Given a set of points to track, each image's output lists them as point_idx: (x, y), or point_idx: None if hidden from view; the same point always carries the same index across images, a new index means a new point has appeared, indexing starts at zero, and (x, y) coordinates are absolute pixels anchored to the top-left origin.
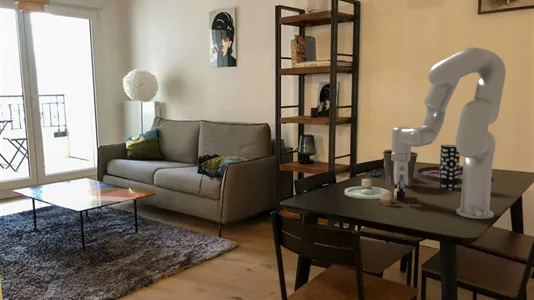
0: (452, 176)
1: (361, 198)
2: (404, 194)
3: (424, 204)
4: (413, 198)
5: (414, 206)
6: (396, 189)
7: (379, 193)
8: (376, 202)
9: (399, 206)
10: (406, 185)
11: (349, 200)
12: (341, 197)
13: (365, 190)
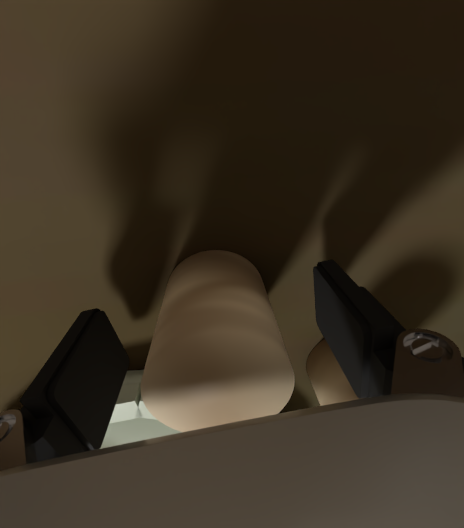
0: None
1: None
2: (366, 301)
3: (280, 4)
4: (24, 178)
5: (395, 140)
6: (241, 417)
7: (106, 443)
8: (309, 406)
9: (403, 272)
10: (439, 404)
11: None
12: None
13: None
